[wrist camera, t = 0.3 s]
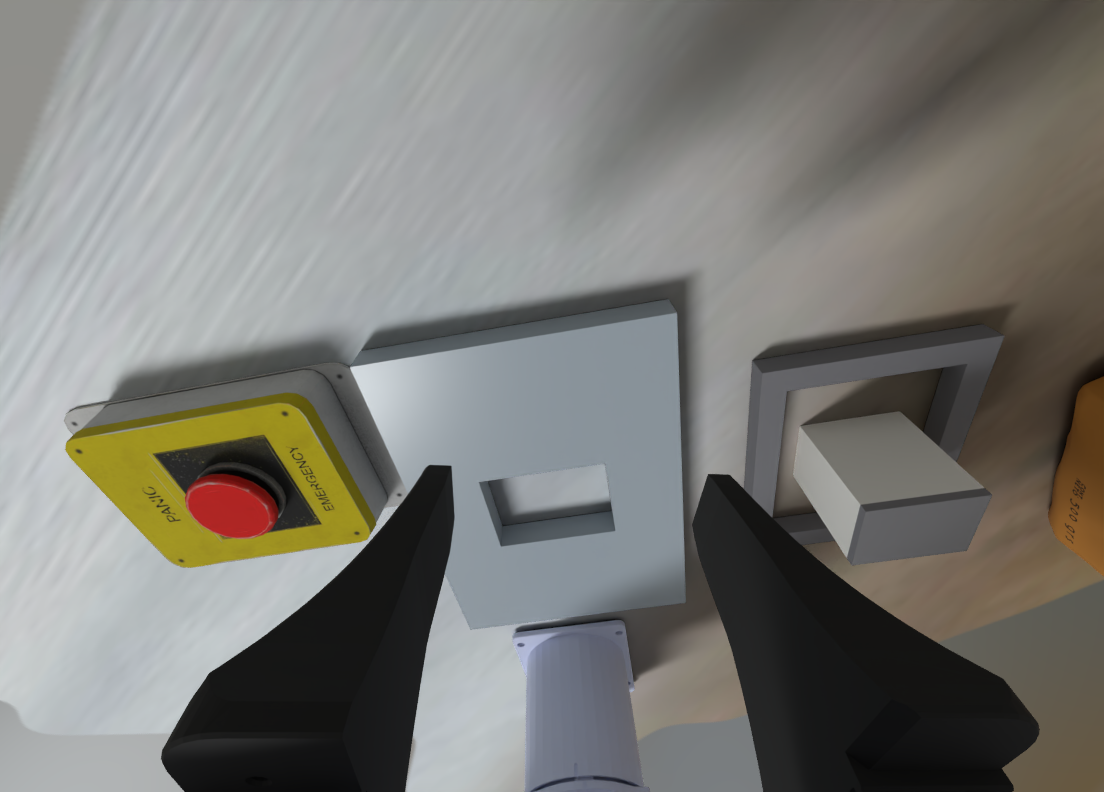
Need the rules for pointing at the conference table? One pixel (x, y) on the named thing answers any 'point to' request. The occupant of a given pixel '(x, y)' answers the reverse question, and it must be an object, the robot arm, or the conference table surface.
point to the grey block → (887, 489)
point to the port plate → (546, 456)
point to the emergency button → (242, 464)
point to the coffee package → (1082, 480)
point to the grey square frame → (952, 407)
